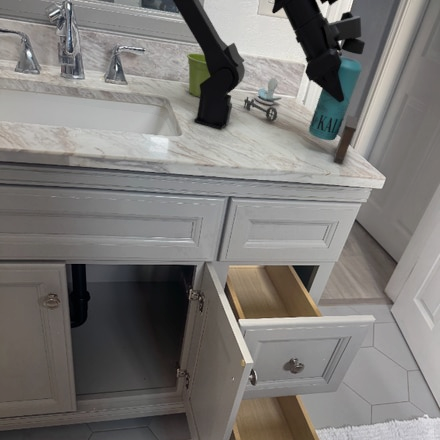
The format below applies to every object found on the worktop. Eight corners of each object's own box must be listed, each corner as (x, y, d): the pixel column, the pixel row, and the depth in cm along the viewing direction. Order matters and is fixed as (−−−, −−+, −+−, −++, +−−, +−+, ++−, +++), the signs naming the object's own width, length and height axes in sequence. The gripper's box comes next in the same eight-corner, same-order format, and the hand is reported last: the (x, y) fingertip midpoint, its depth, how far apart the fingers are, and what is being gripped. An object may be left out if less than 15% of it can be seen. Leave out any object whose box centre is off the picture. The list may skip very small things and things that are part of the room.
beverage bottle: (314, 133, 96) (347, 34, 84) (339, 144, 94) (377, 43, 81) (300, 138, 92) (332, 33, 79) (326, 149, 89) (364, 43, 77)
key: (276, 124, 103) (279, 110, 101) (273, 124, 103) (277, 110, 101) (244, 107, 110) (247, 93, 108) (242, 107, 109) (244, 93, 107)
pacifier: (266, 107, 114) (282, 106, 117) (272, 82, 110) (288, 81, 113) (249, 98, 118) (264, 97, 121) (253, 74, 114) (269, 73, 117)
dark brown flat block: (332, 162, 90) (345, 125, 85) (335, 149, 97) (347, 115, 92) (342, 164, 90) (356, 128, 85) (344, 151, 97) (357, 117, 92)
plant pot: (186, 86, 115) (190, 50, 109) (220, 94, 115) (226, 59, 110) (179, 94, 108) (183, 57, 102) (215, 103, 108) (221, 66, 102)
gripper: (348, -5, 69) (384, 84, 75) (347, -9, 84) (378, 66, 90) (288, 38, 75) (326, 117, 81) (297, 27, 89) (329, 95, 95)
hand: (342, 97), depth 87 cm, fingers closed on beverage bottle, 6 cm apart
